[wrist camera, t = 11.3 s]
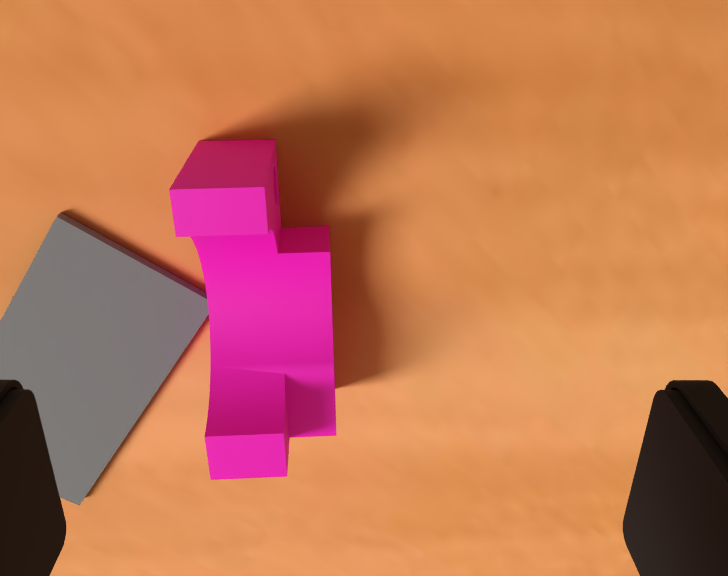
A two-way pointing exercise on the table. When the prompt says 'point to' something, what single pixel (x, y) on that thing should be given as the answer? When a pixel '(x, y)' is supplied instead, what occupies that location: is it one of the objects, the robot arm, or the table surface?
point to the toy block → (257, 308)
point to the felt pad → (93, 344)
